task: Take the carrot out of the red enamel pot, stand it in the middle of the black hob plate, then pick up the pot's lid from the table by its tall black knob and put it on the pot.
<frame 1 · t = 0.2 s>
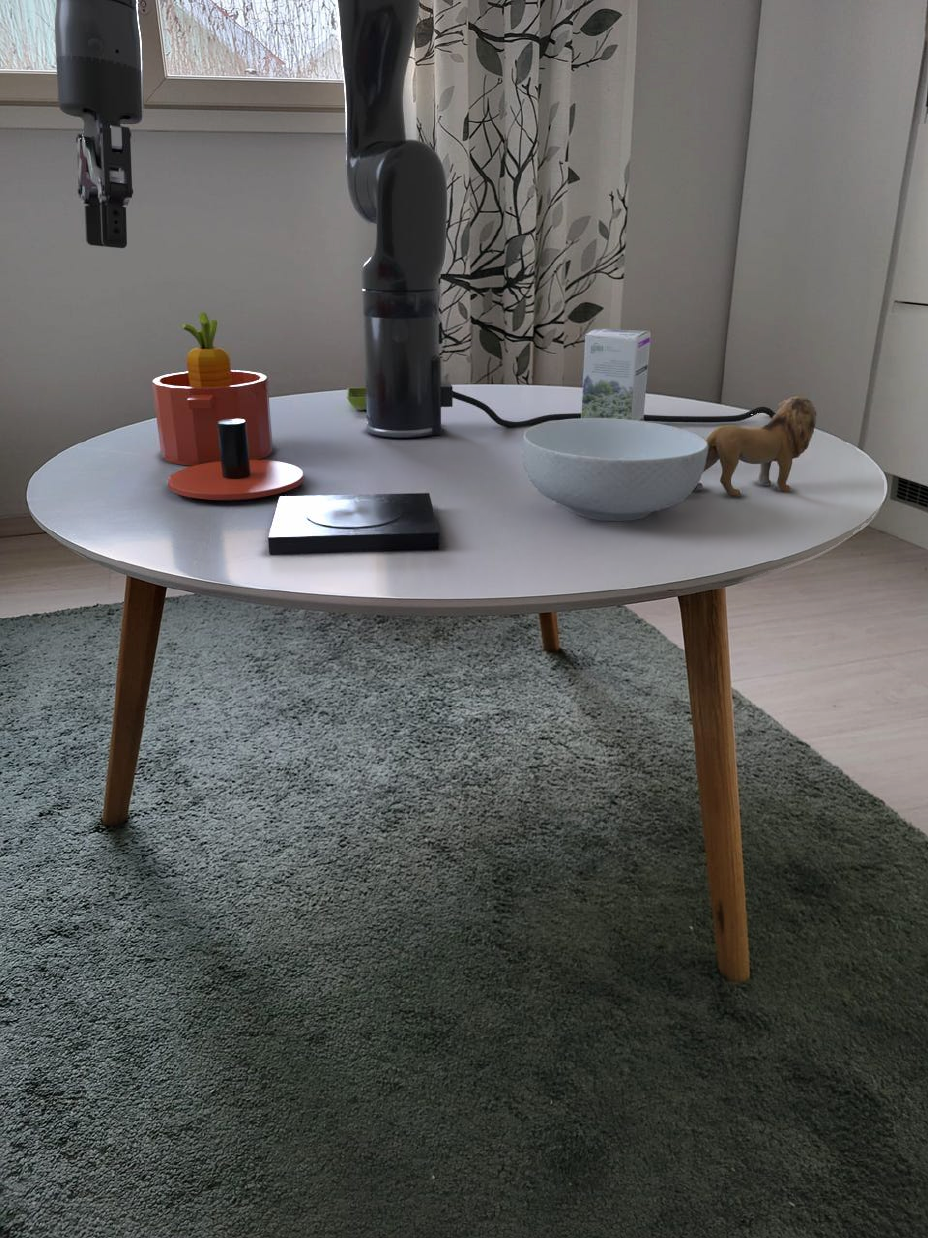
hand: (105, 246, 93), 23 cm above the table, tool pointing down, fingers open, 8 cm apart
cereal bowl: (609, 511, 89), on the table
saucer: (377, 407, 135), on the table
lion figurine: (747, 490, 96), on the table
hob plate: (355, 529, 83), on the table
carrot: (217, 450, 108), resting in pot
syrup box: (609, 468, 104), on the table
pot lid: (237, 481, 95), point 1 cm above the table
pot: (218, 453, 108), on the table
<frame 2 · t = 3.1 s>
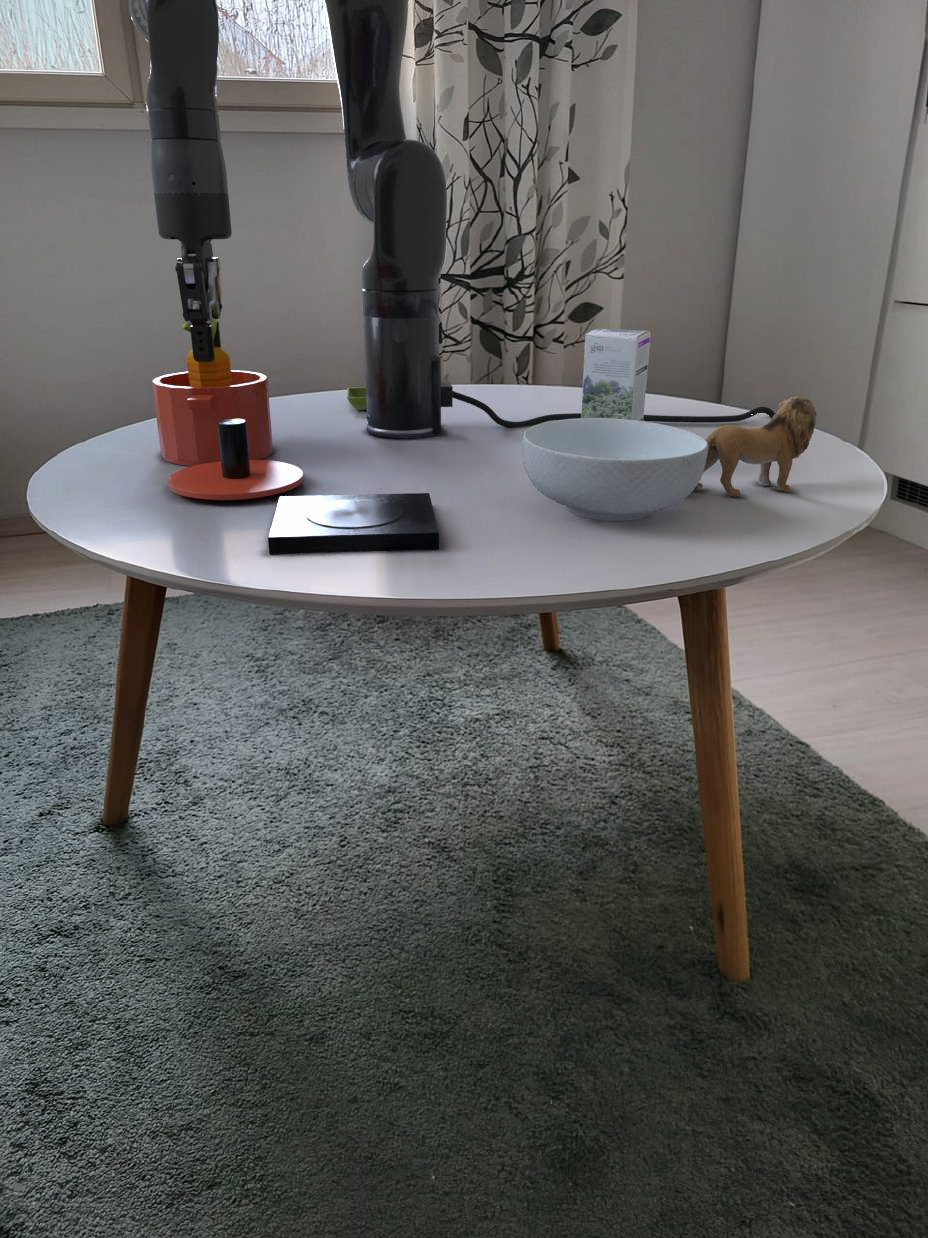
hand: (208, 356, 104), 11 cm above the table, tool pointing down, fingers closed on carrot, 4 cm apart
carrot: (217, 450, 108), resting in pot, touching gripper
everything else where it was.
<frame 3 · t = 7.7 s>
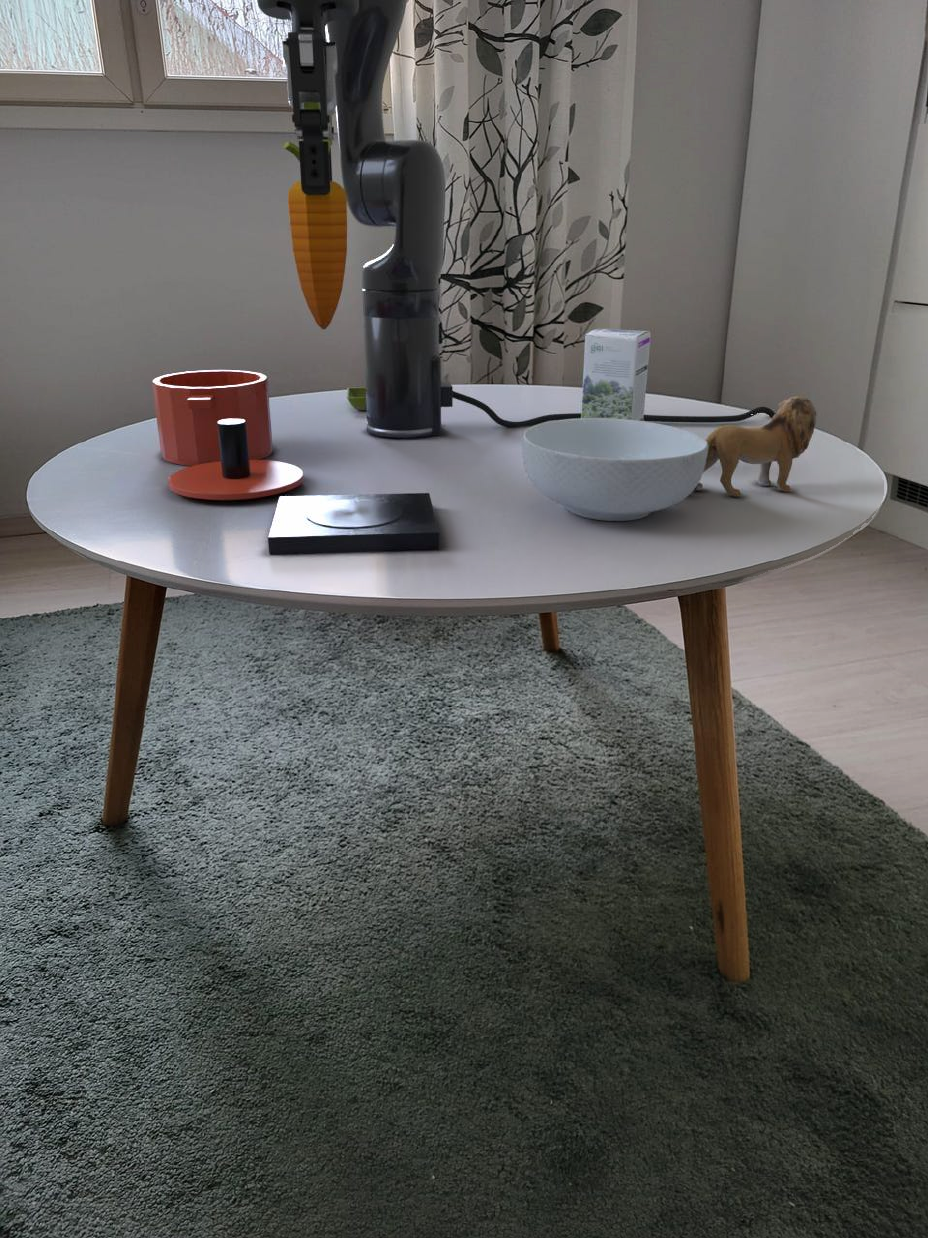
hand: (317, 194, 74), 27 cm above the table, tool pointing down, fingers closed on carrot, 4 cm apart
carrot: (323, 331, 79), point 17 cm above the table, touching gripper
everything else where it was.
when the fingers open (12 cm above the table, at t = 12.5 s): carrot stays where it is, resting on hob plate.
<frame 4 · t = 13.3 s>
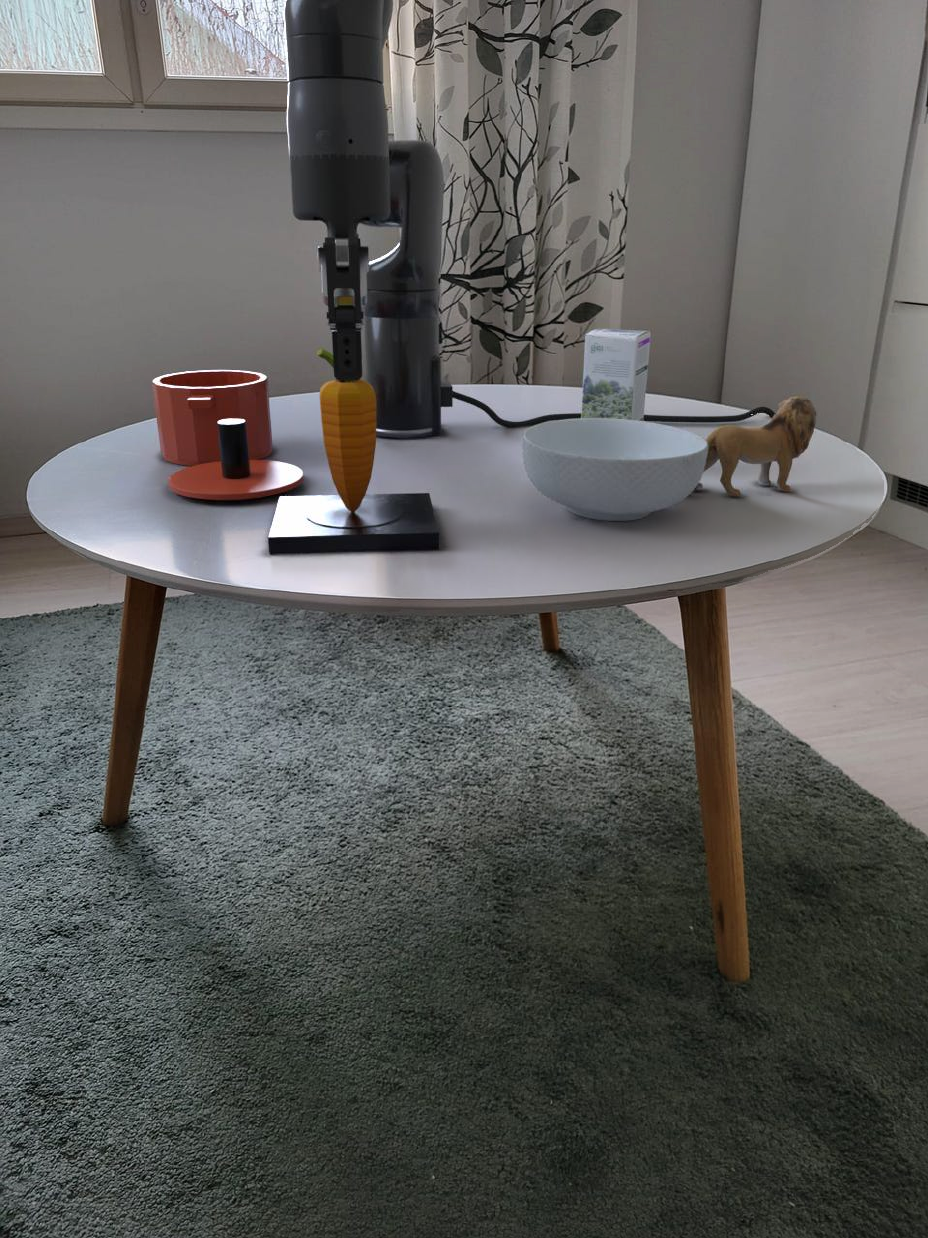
hand: (349, 371, 77), 14 cm above the table, tool pointing down, fingers open, 8 cm apart
carrot: (352, 514, 82), point 1 cm above the table, touching hob plate
everything else where it was.
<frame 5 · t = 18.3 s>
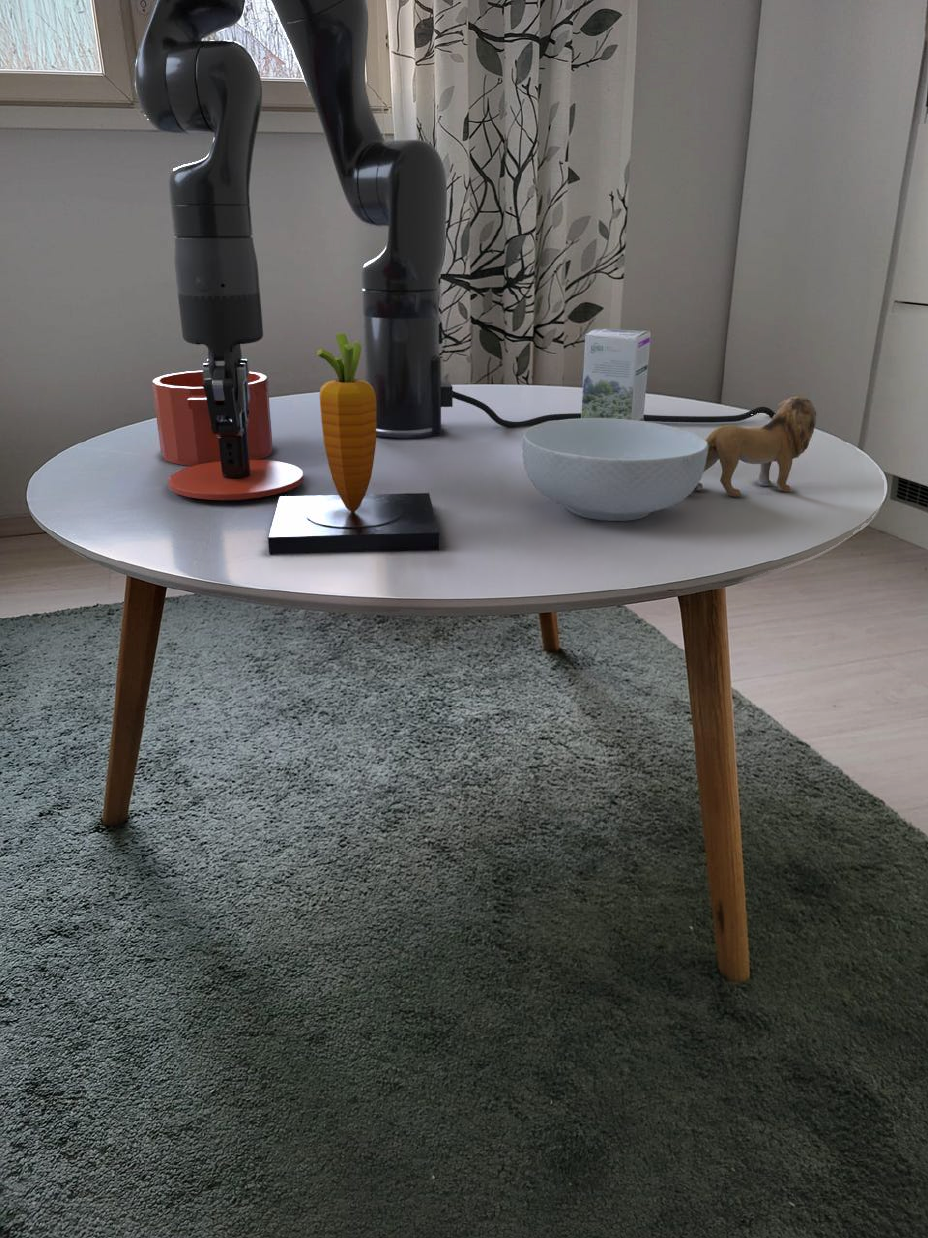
hand: (235, 468, 94), 2 cm above the table, tool pointing down, fingers closed on pot lid, 3 cm apart
pot lid: (237, 481, 95), point 1 cm above the table, touching gripper
everything else where it was.
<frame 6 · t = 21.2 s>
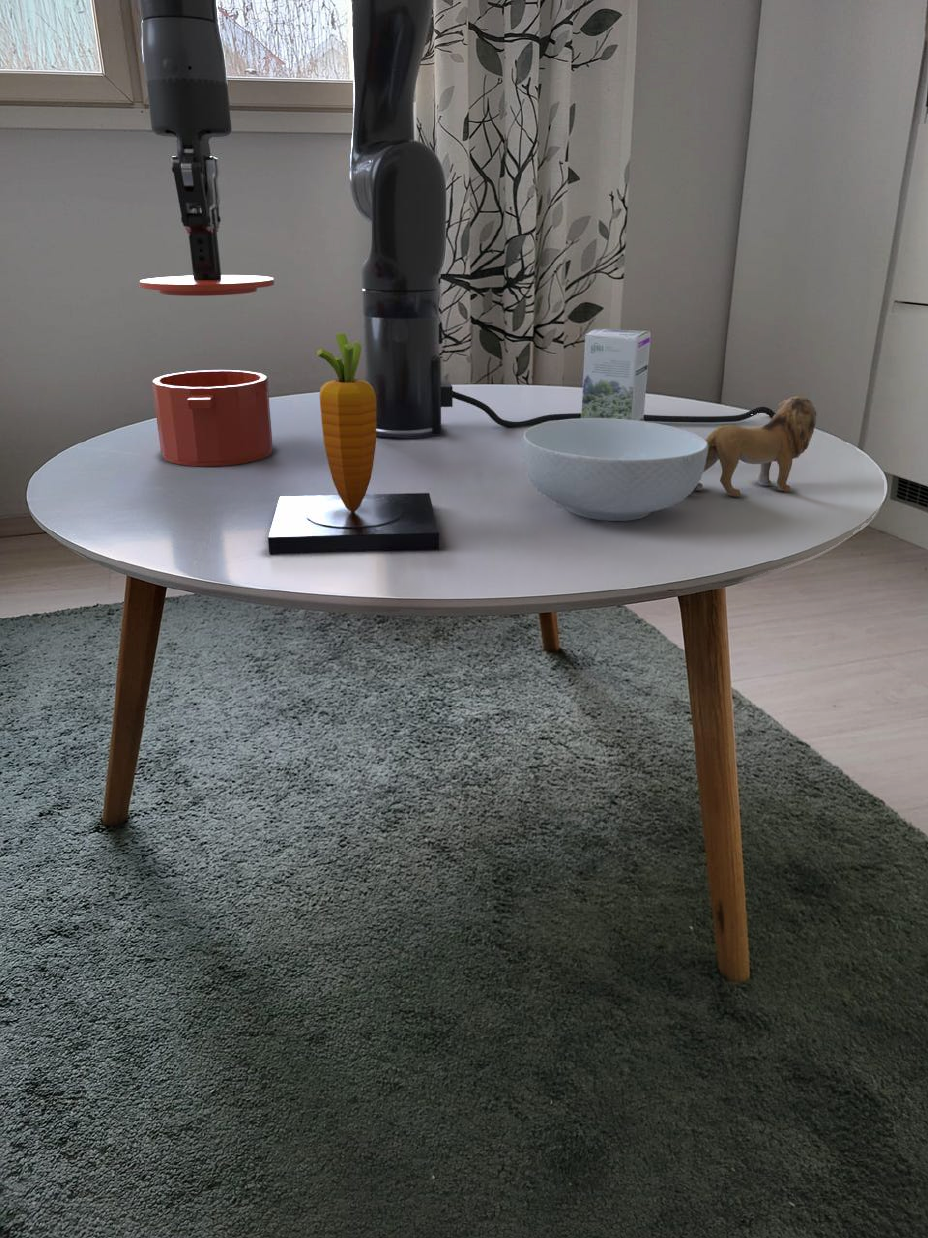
hand: (207, 271, 96), 20 cm above the table, tool pointing down, fingers closed on pot lid, 3 cm apart
pot lid: (208, 285, 96), point 19 cm above the table, touching gripper
everything else where it was.
when the fingers open (10 cm above the table, at t = 24.4 s): pot lid stays where it is, resting on pot.
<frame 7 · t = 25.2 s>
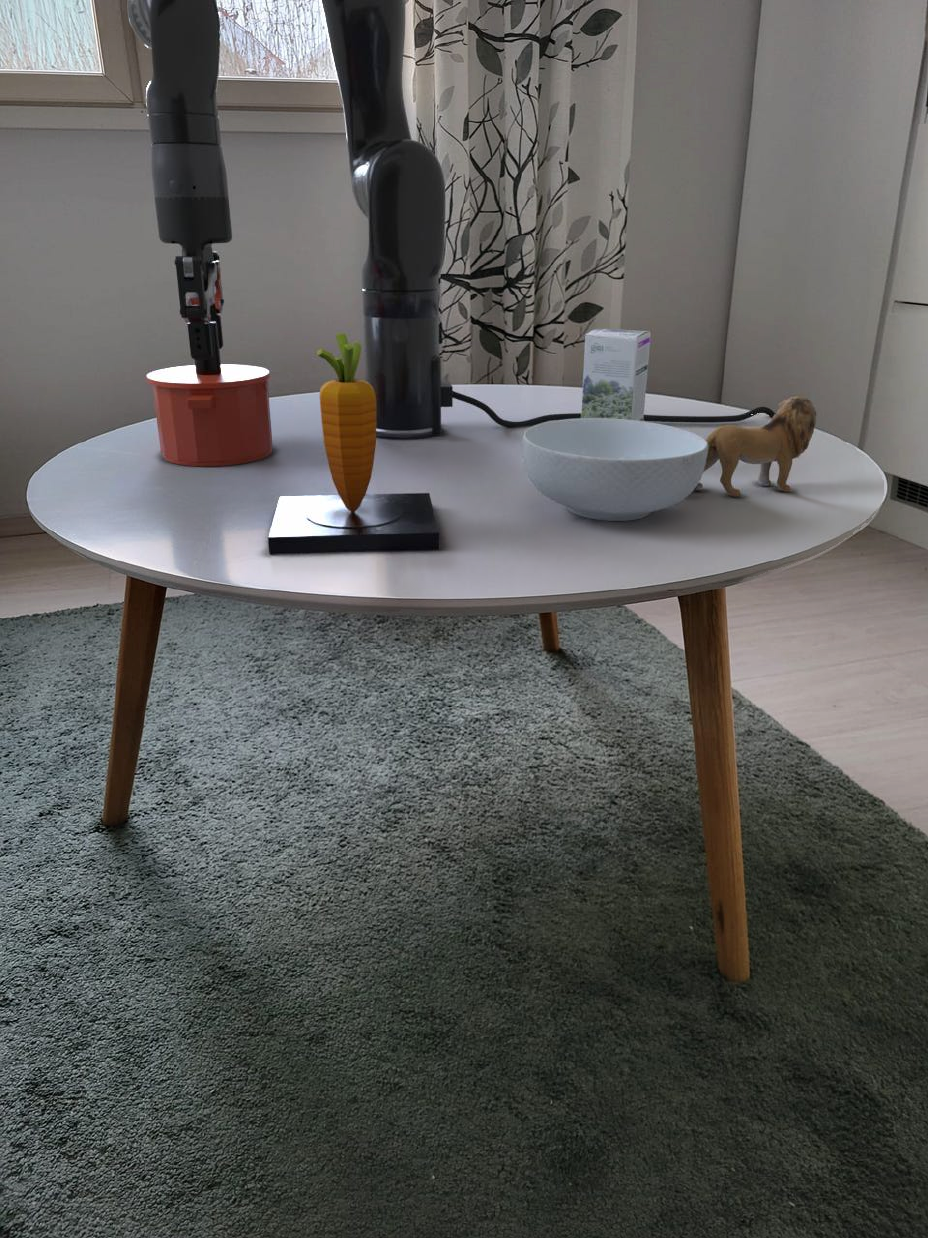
hand: (208, 353, 104), 11 cm above the table, tool pointing down, fingers open, 8 cm apart
pot lid: (209, 378, 105), point 8 cm above the table, touching pot
everything else where it was.
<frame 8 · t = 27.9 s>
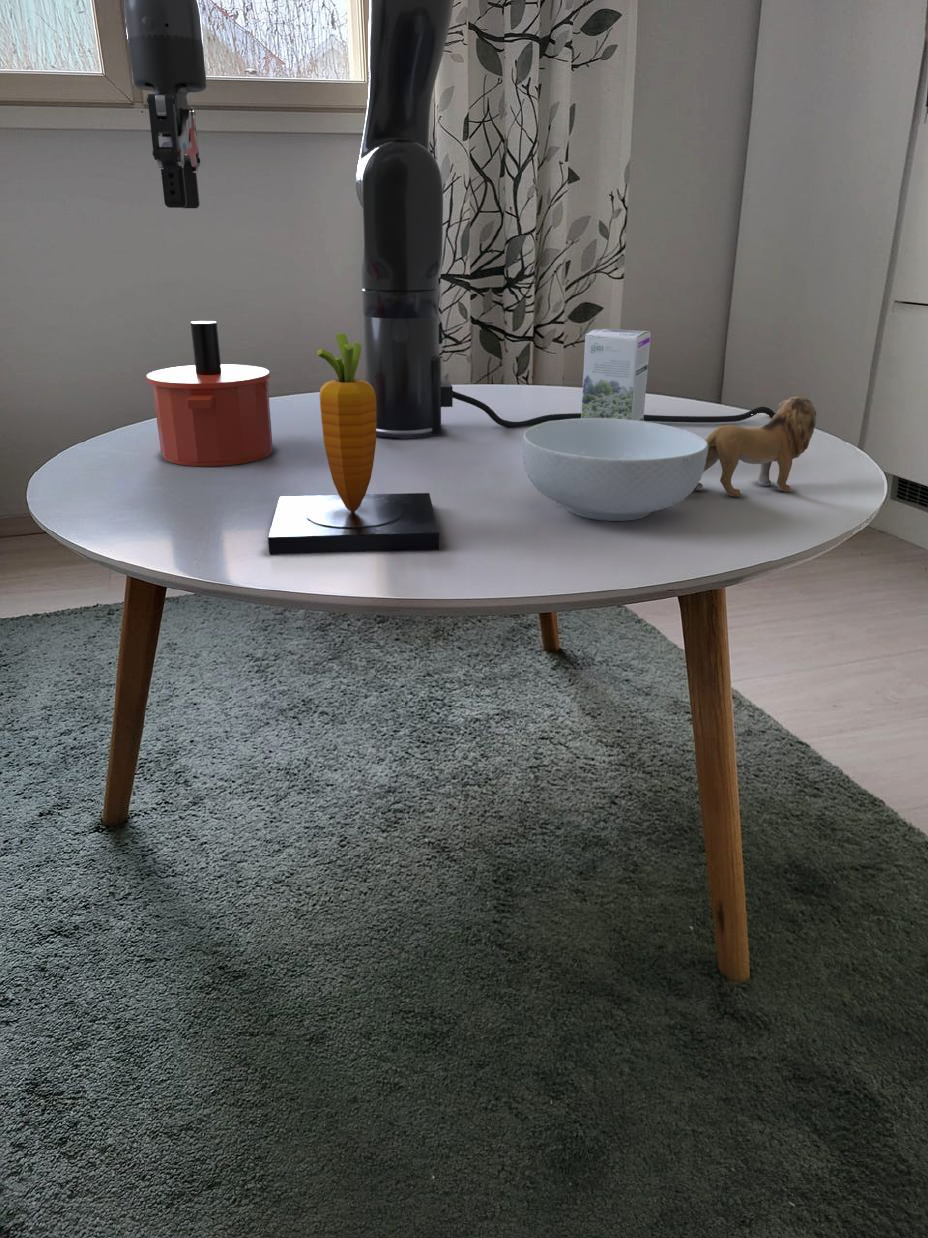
hand: (183, 207, 103), 26 cm above the table, tool pointing down, fingers open, 8 cm apart
nothing on the table moved.
at the end: carrot inside the target area on the hob plate (0.2 cm from its centre), point 1.4 cm above the hob plate's base; pot lid 0.1 cm off-centre on the pot, point 8.5 cm above the pot's base; pot lid tilted 0° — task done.
